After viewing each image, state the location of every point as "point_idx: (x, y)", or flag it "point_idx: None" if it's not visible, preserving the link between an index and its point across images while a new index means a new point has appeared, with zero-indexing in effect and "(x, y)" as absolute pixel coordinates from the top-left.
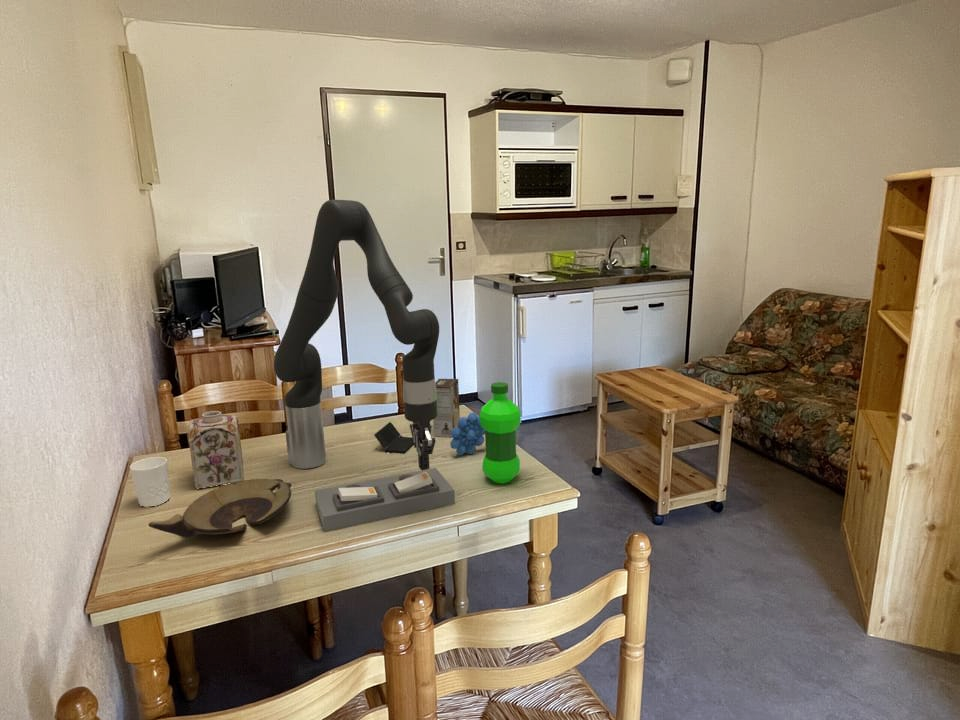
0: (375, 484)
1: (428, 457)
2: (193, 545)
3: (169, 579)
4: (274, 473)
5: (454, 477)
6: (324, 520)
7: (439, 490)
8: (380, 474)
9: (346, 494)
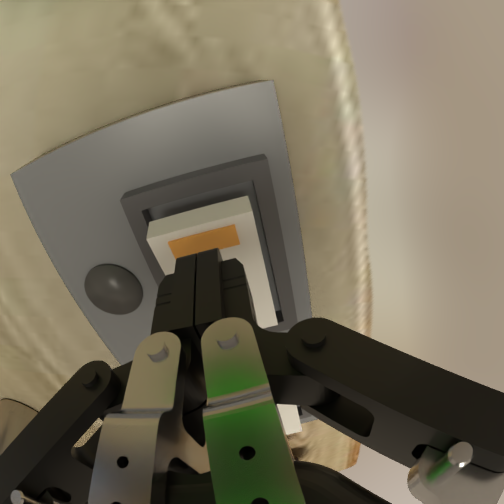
0: None
1: (222, 300)
2: None
3: (348, 454)
4: (78, 445)
5: (21, 87)
6: None
7: (258, 152)
8: (26, 323)
9: (293, 426)
